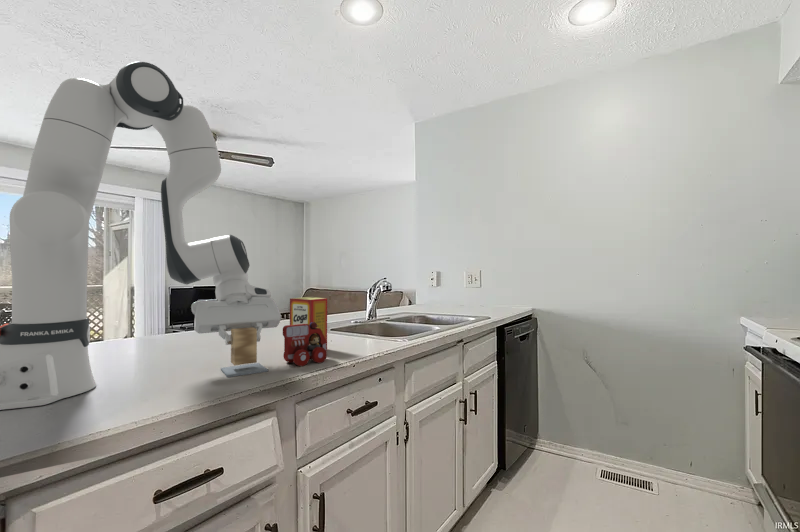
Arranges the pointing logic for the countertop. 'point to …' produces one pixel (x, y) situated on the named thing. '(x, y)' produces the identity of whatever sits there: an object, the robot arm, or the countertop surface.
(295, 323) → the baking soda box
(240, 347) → the block
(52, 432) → the countertop surface
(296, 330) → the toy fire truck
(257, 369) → the mat
